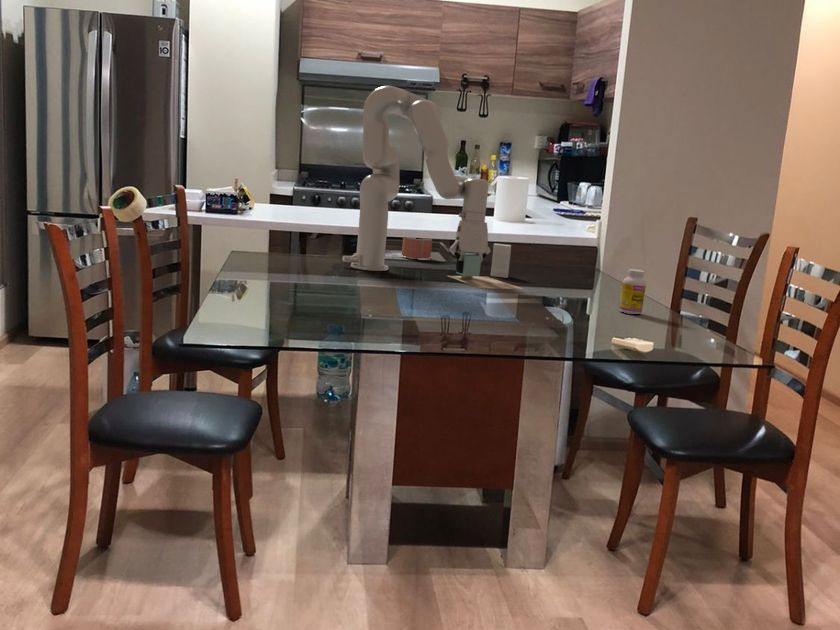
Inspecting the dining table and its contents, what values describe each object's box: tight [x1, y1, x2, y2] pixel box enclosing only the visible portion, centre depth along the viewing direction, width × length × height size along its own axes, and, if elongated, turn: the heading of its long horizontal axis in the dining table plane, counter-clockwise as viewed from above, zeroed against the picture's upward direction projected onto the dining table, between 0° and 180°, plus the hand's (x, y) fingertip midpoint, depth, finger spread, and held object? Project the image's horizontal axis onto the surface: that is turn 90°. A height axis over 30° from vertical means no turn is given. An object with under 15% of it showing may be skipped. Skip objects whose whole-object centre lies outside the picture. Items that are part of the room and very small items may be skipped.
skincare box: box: [490, 243, 512, 278], centre depth 301 cm, size 6×4×12 cm
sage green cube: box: [455, 253, 482, 276], centre depth 287 cm, size 6×6×7 cm
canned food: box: [401, 238, 433, 258], centre depth 335 cm, size 11×11×12 cm
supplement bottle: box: [618, 268, 647, 315], centre depth 258 cm, size 7×7×13 cm
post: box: [460, 275, 473, 279], centre depth 287 cm, size 3×3×5 cm
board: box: [447, 275, 524, 290], centre depth 284 cm, size 16×22×1 cm
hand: (467, 272), depth 287 cm, fingers closed on sage green cube, 5 cm apart
